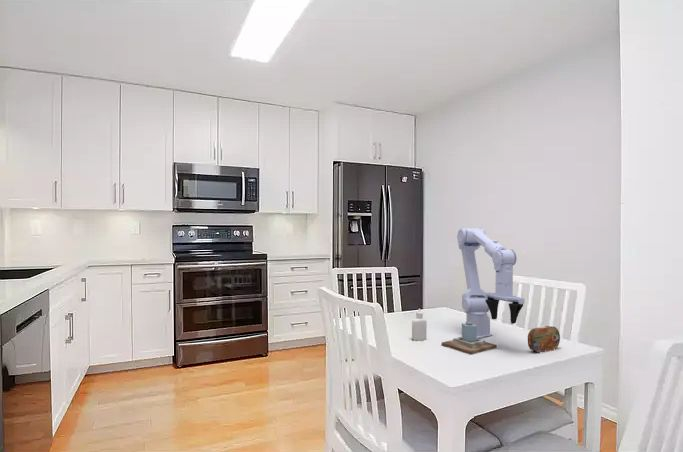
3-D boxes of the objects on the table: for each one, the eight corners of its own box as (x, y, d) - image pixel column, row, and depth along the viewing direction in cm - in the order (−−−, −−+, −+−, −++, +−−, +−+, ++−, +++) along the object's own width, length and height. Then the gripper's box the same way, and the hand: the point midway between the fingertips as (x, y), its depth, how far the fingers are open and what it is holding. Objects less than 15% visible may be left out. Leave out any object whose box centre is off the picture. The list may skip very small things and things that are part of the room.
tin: (533, 354, 140) (533, 330, 140) (525, 351, 142) (525, 328, 143) (560, 348, 147) (561, 325, 147) (552, 346, 149) (553, 323, 149)
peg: (472, 342, 150) (472, 320, 150) (476, 345, 146) (476, 323, 146) (461, 342, 150) (461, 320, 150) (465, 345, 146) (466, 323, 146)
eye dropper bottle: (411, 337, 159) (411, 307, 159) (426, 338, 158) (426, 307, 158) (412, 340, 155) (412, 309, 155) (426, 341, 154) (427, 310, 154)
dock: (467, 339, 158) (467, 332, 158) (496, 347, 147) (496, 340, 147) (441, 345, 149) (441, 338, 149) (470, 354, 138) (470, 347, 138)
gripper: (529, 284, 140) (529, 323, 140) (493, 280, 152) (492, 315, 152) (517, 286, 136) (517, 326, 136) (481, 281, 148) (481, 318, 148)
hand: (503, 321), depth 144 cm, fingers open, 7 cm apart
